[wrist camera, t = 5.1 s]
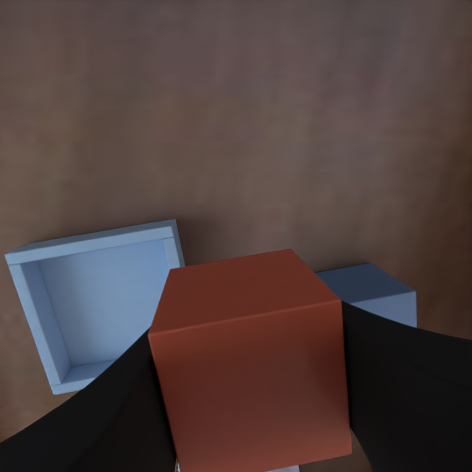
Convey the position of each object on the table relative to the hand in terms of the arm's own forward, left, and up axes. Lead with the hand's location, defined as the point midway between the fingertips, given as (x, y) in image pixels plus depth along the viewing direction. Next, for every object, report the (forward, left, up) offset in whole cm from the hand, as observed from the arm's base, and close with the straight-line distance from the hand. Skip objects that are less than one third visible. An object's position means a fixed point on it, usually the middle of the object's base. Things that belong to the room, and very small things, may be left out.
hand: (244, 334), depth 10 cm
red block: (0, 0, -1) cm, 1 cm away
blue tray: (-1, +7, -8) cm, 11 cm away
